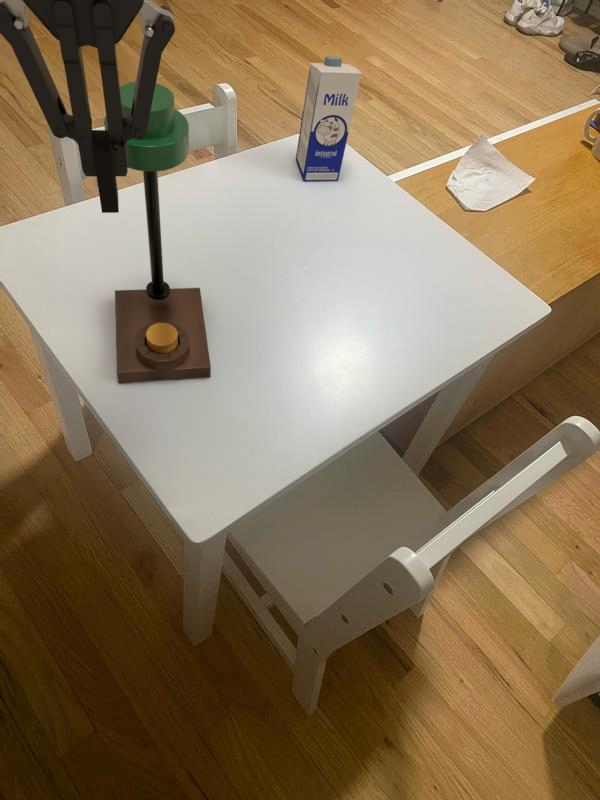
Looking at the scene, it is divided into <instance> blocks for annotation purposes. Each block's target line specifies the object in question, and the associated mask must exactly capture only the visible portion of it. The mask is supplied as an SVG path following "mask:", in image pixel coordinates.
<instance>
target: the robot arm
mask: <svg viewBox="0 0 600 800" xmlns="http://www.w3.org/2000/svg"><path fill="white" fill-rule="evenodd" d="M27 7H28V9H29V10H30V11H31V12H32V14H33V15H34V16H35V17H36V18H37V19H38V20H39V22H40V23H41V24H42V25H43V27H44V28H46V30H47V31H48V32H49V33H50V34H51V36H52V37H53V38H54V39H56V40H57V41H58V42H59V48H60V52H61V59H62V63H63V66H64V72H65V79H66V85H67V91H68V97H69V102H70V103H69V104H70V108H71V114H70V113H69V114H68V110H67V109H66V107H65V104H64V102H63V99H62V97H61V95H60V93H59V91H58V88H57V86H56V84H55V82H54V79H53V77H52V75H51V72H50V70H49V68H48V65H47V63H46V60H45V59H44V56H43V54H42V52H41V49H40V47H39V45H38V43H37V41H36V38H35V35H34V33H33V31H32V29H31V28H30V25H29V22H30V15H29V14H30V13H29V12H28V10H27ZM138 14H139V15H140V17H141V18H140V30H141V32H142V34H143V38H142V44H141V50H140V56H139V61H138V68H137V73H136V80H135V82H136V84H135V90H134V96H133V102H132V107H131V113H130V116H127V117H124V118H123V114H122V104H121V95H120V87H121V86H120V77H119V76H120V75H119V66H118V56H117V47H116V45H117V44H119V43H120V42H121V41H122V39H123V37H124V36H125V35H126V33H127V31H128V30H129V29H130V27H131V25H132V24H133V22H134V20H135V19H136V17H137V16H138ZM175 32H176V26H175V19H174V14H173V10H172V9H171V7H169V6H168V5H165V4H163V5H158V4H157V3H156V2H155V1H153V0H0V35H1V36H2V37H3V38H4V39H5V40H6V42H8V44H9V45H10V46H11V47H10V48H11V49H12V51H13V53H14V56H15V58H16V59H17V61H18V63H19V66H20V68H21V70H22V73H23V74H24V76H25V78H26V80H27V83H28V85H29V87H30V89H31V91H32V93H33V95H34V98H35V100H36V102H37V104H38V106H39V108H40V110H41V112H42V115H43V116H44V118H45V121H46V123H47V125H48V127H49V129H50V131H51V133H52V135H53V136H54V137H55V138H56V139H57V138H58V139H65V138H68V139H71V140H73V141H74V142H75V143H76V144H77V147H78V152H79V153H78V154H79V158H80V164H81V170H82V173H83V175H84V176H85V177H96V183H97V189H98V196H99V202H100V208H101V213H102V214H117V213H120V211H119V191H118V190H119V189H118V181H117V177H127V175H128V172H129V170H128V169H129V168H128V167H127V155H126V143H127V141H129V140H131V139H137V140H141V139H143V138H144V137H145V135H146V131H147V126H148V121H149V116H150V111H151V106H152V101H153V95H154V90H155V85H156V83H157V79H158V75H159V69H160V65H161V59H162V56H163V55H162V54H163V52H164V50H165V49H166V47H167V45H168V44H169V43H170V41H171V39H172V38H173V36H174V34H175ZM86 46H89V47H93V48H95V49H97V55H98V63H99V69H100V77H101V85H102V93H103V100H104V101H103V102H104V108H105V109H104V110H105V116H106V117H107V125H108V130H105V129H93V118H92V115H91V108H90V101H89V92H88V87H87V80H86V79H87V78H86V73H85V64H84V57H83V53H82V51H83V50H82V47H86Z"/></svg>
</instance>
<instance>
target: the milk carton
mask: <svg viewBox="0 0 600 800" xmlns="http://www.w3.org/2000/svg"><path fill="white" fill-rule="evenodd" d="M342 60H343V58H342V57H339V56H333V55H332V56H330V55H329V56H325V57H324V61H323V62H308V63H309V68H308V75H307V82H306V88H305V94H304V101H303V102H304V103H303V108H302V114H301V122H300V129H299V135H298V142H297V147H296V156H295V162H296V165H297V167H298V168H297V169H298V171H299V173H300V175H301V179H302V181H303V182H338V181H339V177H340V172H341V169H342V164H343V159H344V155H345V151H346V146H347V141H348V138H349V132H350V129H351V123H352V119H353V114H354V109H355V106H356V101H357V96H358V91H359V88H360V83H361V78H362V75H363V73H362V72H361V71H360V69H358V68H356V67H354V66H353V65H351V64H349V63H342Z"/></svg>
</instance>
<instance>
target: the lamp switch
mask: <svg viewBox="0 0 600 800" xmlns="http://www.w3.org/2000/svg"><path fill="white" fill-rule="evenodd" d="M146 339H147V346H148V348H149V349H150V350H151V351H152V352H154V353H156V354H168V353H171V352H173V351H174V350H175V349H176V348H177V345H178V333H177V330H176V329H175V327H173V326H172V325H170V324H167V323H157V324H154V325H152V326H150V327H149V328H148V330H147V332H146Z"/></svg>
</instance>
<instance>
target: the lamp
mask: <svg viewBox="0 0 600 800" xmlns="http://www.w3.org/2000/svg"><path fill="white" fill-rule="evenodd" d="M135 84H136V81H130V82H127V83H124V84H123V85H121V86H120V95H121V104H122V114H123V118H124V117H127V116H130V113H131V107H132V102H133V96H134V90H135ZM103 126H104V130H108V125H107V117H106V115H105V117H104V120H103ZM189 153H190V124H189V121H188V119H187V118H186V117H185V115H184V114H183V113H181V112H180V111H179V110H177V109H176V108H175V95H174V93H173V92H172V91H171V90H170V89H169V88H168V87H166V86H164V85H162V84H159V83H157V82H156V85H155V90H154V95H153V101H152V106H151V111H150V116H149V121H148V126H147V131H146V135H145V137H144V138H143V139H141V140H137V139H131V140H129V141H127V143H126V155H127V168H128V169H131V170H133V171H140V172H142V175H143V187H144V199H145V214H146V225H147V226H146V227H147V238H148V239H147V240H148V241H147V242H148V253H149V263H150V264H149V265H150V266H149V267H150V277H151V281H150V282H148V283H147V285H146V286H145V287H146V291H147V295H148V296H149V297H150V298H152V299H154V300H163V299H165V298H167V297H168V296H169V294H170V289H171V287H170V285H169V284H168V282H166V281H164V280H165V279H164V262H163V244H162V228H161V227H162V225H161V208H160V195H159V194H160V193H159V192H160V191H159V177H158V176H159V174H158V172H163V171H168V170H171V169H174V168H176V167H178V166H180V165H182V164H183V163H184V162H185V161H186V159H187V158H188V156H189Z"/></svg>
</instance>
